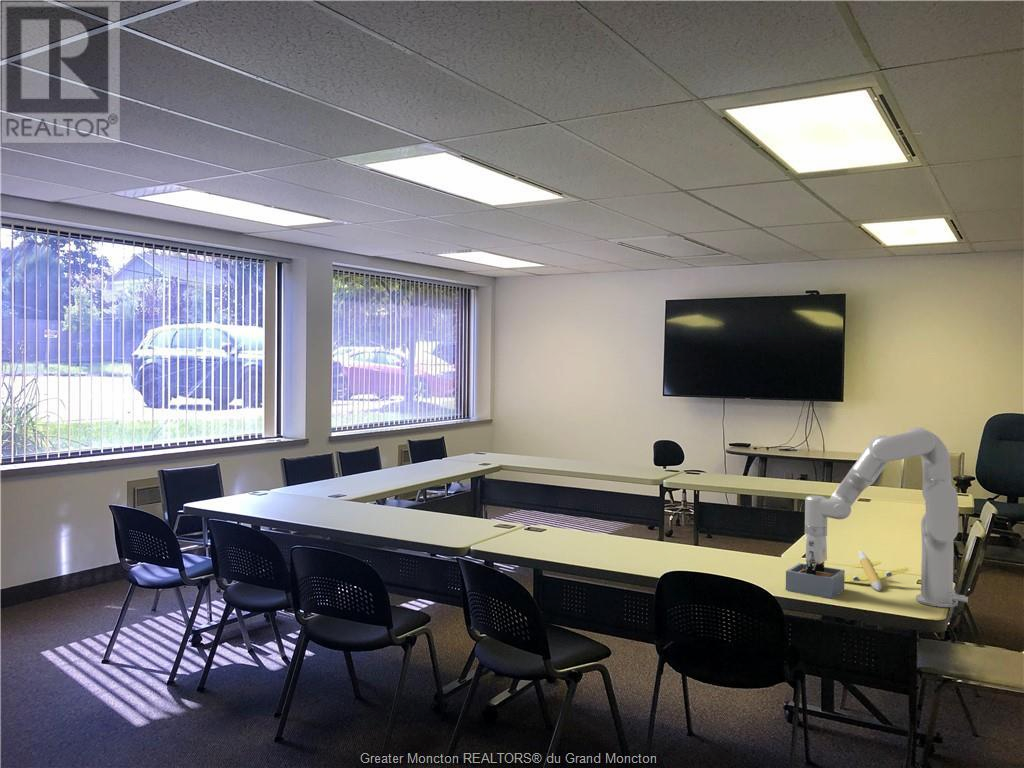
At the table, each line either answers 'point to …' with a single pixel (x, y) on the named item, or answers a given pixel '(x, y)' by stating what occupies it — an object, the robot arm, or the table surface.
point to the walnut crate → (819, 573)
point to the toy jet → (872, 572)
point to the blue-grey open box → (815, 582)
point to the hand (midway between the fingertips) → (815, 578)
